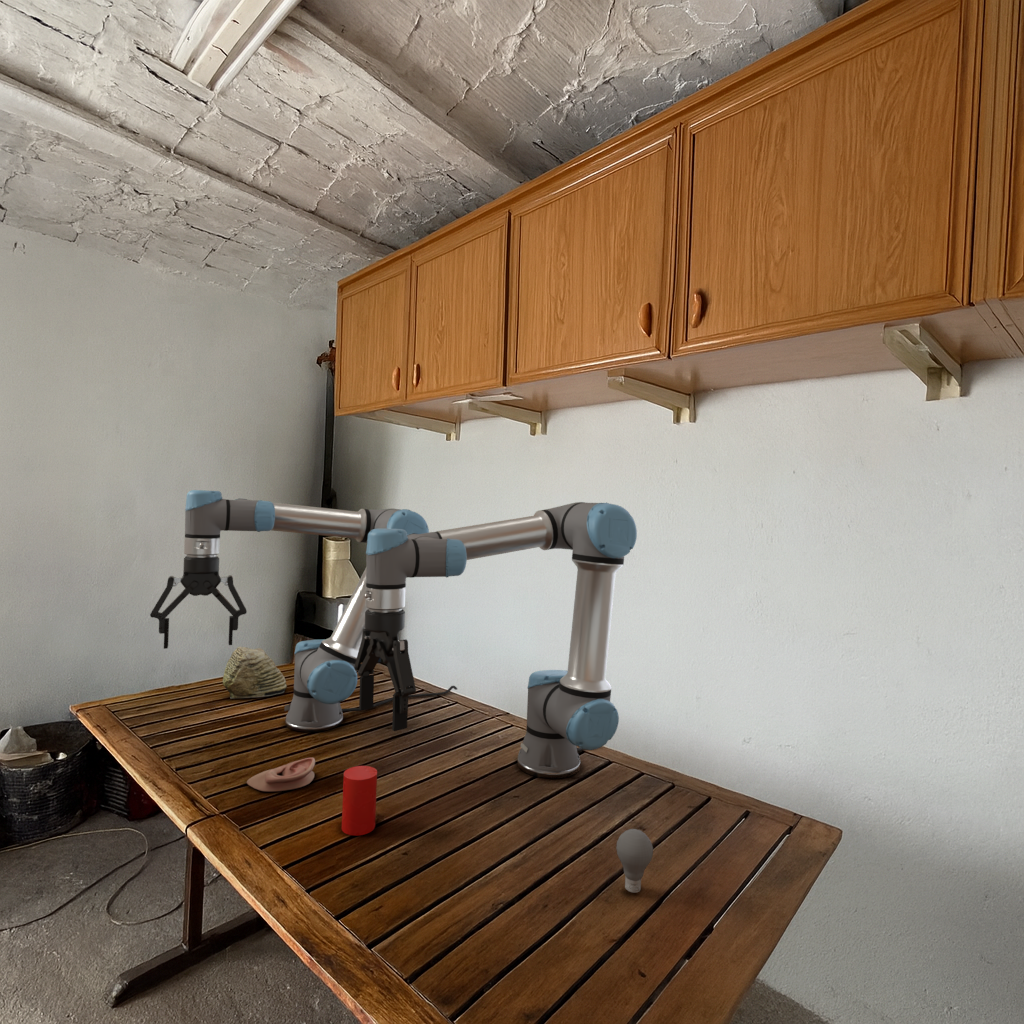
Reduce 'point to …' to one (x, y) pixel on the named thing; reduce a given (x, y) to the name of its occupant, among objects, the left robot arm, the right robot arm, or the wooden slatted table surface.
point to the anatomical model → (284, 776)
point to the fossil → (252, 674)
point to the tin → (359, 800)
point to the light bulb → (634, 857)
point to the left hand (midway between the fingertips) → (198, 645)
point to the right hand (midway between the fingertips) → (382, 718)
